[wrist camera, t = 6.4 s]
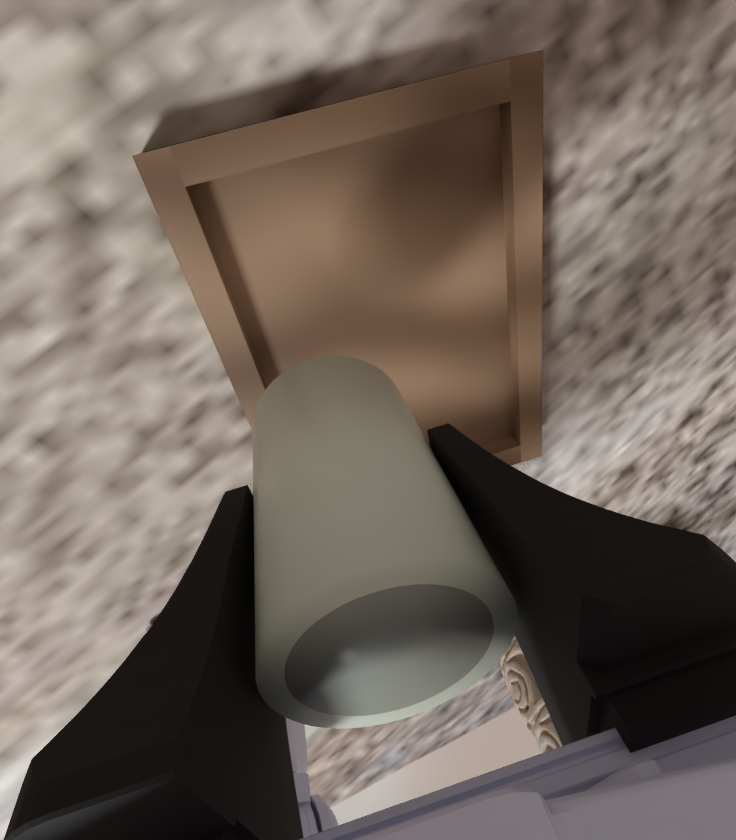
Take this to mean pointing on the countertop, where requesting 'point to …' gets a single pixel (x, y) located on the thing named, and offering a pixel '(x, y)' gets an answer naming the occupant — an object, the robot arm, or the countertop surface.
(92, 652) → the countertop surface
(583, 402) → the countertop surface
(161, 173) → the tray
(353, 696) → the cup
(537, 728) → the carving
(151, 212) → the countertop surface
